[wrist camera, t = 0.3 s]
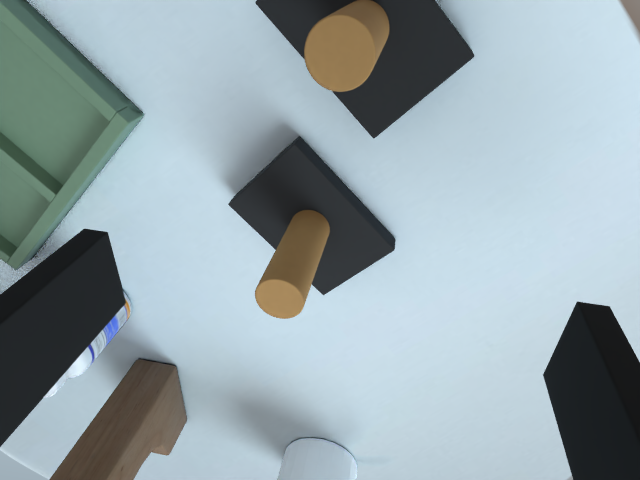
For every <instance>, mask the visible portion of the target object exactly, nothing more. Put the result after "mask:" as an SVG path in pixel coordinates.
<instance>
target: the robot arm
mask: <svg viewBox="0 0 640 480" xmlns="http://www.w3.org/2000/svg"><path fill="white" fill-rule="evenodd" d="M125 304H126V300H125V296H124V292H123V289H122V285H121V281H120V277H119V274H118V270H117V266H116V262H115V258H114V255H113V251H112V247H111V243H110V240H109V236H108V232H103V231H96V230H90V229H83V230H82V231H81V232H80V233H78V234H77V235H76V236H74V237H73V238H72V239H71V240H69V241H68V242H67V243H66V244H64V245H63V246H62V247H60V248H59V249H58V250H57V251H55V252H54V253H53V254H52V255H50V256H49V257H48V258H46V259H45V260H44V261H43V262H41V263H40V264H39V265H37V266H36V267H35V268H34V269H32V270H31V271H30V272H29V273H27V274H26V275H25V276H23V277H22V278H21V279H20V280H18V281H17V282H16V283H15V284H13V285H12V286H11V287H9V288H8V289H7V290H6V291H4V292H3V293H2V294H1V295H0V447H1V445H2V444H3V443H4V442H5V441H6V440H7V439H8V437H9V436H10V435H11V434H12V433H13V432H14V431H15V429H16V428H17V427H18V426H19V425H20V424H21V423H22V421H23V420H24V419H25V418H26V417H27V416H28V415H29V413H30V412H31V411H32V410H33V409H34V408H35V407H36V405H37V404H38V403H39V402H40V401H41V400H42V399H43V397H44V396H45V395H46V394H47V393H48V392H49V391H50V389H51V388H52V387H53V386H54V385H55V384H56V383H57V381H58V380H59V379H60V378H61V377H62V376H63V375H64V373H65V372H66V371H67V370H68V369H69V368H70V367H71V365H72V364H73V363H74V362H75V361H76V360H77V359H78V357H79V356H80V355H81V354H82V353H83V352H84V351H85V349H86V348H87V347H88V346H89V345H90V344H91V342H92V341H93V340H94V339H95V338H96V337H97V336H98V334H99V333H100V332H101V331H102V330H103V329H104V328H105V326H106V325H107V324H108V323H109V322H110V321H111V320H112V318H113V317H114V316H115V315H116V314H117V313H118V312H119V310H120V309H121V308H122V307H123V306H124V305H125ZM543 376H544V379H545V383H546V386H547V390H548V393H549V397H550V400H551V404H552V407H553V411H554V414H555V417H556V421H557V424H558V428H559V431H560V435H561V438H562V442H563V445H564V449H565V452H566V456H567V459H568V463H569V466H570V470H571V473H572V476H573V480H640V362H639V360H638V358H637V357H636V355H635V353H634V351H633V349H632V347H631V345H630V344H629V342H628V340H627V338H626V336H625V334H624V332H623V331H622V329H621V327H620V325H619V323H618V321H617V319H616V318H615V316H614V314H613V312H612V310H611V308H610V306H603V305H596V304H589V303H583V302H577V303H576V305H575V307H574V309H573V312H572V314H571V316H570V318H569V320H568V322H567V325H566V327H565V329H564V331H563V333H562V335H561V338H560V340H559V342H558V344H557V346H556V348H555V350H554V353H553V355H552V357H551V359H550V361H549V363H548V366H547V368H546V370H545V372H544V374H543Z"/></svg>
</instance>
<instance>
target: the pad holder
mask: <svg viewBox="0 0 640 480" xmlns="http://www.w3.org/2000/svg"><path fill="white" fill-rule="evenodd" d="M143 116H144V114H143V113H142V112H141V111H140V110H139V109H138V108H137V107H136V106H135V105H134V104H133V103H132V102H131V101H130V100H129V99H127V98H126V97H125V96H124V95H123V94H122V93H121V92H120V91H119V90H118V89H117V88H116V87H115V86H114V85H113V84H112V83H111V82H110V81H109V80H108V79H107V78H106V77H105V76H104V75H103V74H101V73H100V72H99V71H98V70H97V69H96V68H95V67H94V66H93V65H92V64H91V63H90V62H89V61H88V60H87V59H86V58H85V57H84V56H83V55H82V54H81V53H80V52H79V51H78V50H77V49H75V48H74V47H73V46H72V45H71V44H70V43H69V42H68V41H67V40H66V39H65V38H64V37H63V36H62V35H61V34H60V33H59V32H58V31H57V30H56V29H55V28H54V27H53V26H52V25H51V24H49V23H48V22H47V21H46V20H45V19H44V18H43V17H42V16H41V15H40V14H39V13H38V12H37V11H36V10H35V9H34V8H33V7H32V6H31V5H30V4H29V3H28V2H27V1H26V0H0V259H2V260H3V261H4V262H5V263H7V264H8V265H10V266H11V267H12V268H14V269H15V270H17V269H19V268H20V267H21V266H23V265H24V264H25V263H27V262H28V261H29V260H31V259H32V258H33V257H34V255H35V254H36V253H37V252H38V250H39V249H40V248H41V247H42V245H43V244H44V243H45V241H46V240H47V239H48V238H49V236H50V235H51V234H52V232H53V231H54V230H55V229H56V227H57V226H58V225H59V224H60V222H61V221H62V220H63V218H64V217H65V216H66V215H67V213H68V212H69V211H70V209H71V208H72V207H73V206H74V204H75V203H76V202H77V200H78V199H79V198H80V197H81V195H82V194H83V193H84V192H85V190H86V189H87V188H88V186H89V185H90V184H91V183H92V181H93V180H94V179H95V177H96V176H97V175H98V174H99V172H100V171H101V170H102V168H103V167H104V166H105V165H106V163H107V162H108V161H109V160H110V158H111V157H112V156H113V154H114V153H115V152H116V151H117V149H118V148H119V147H120V145H121V144H122V143H123V142H124V140H125V139H126V138H127V136H128V135H129V134H130V133H131V131H132V130H133V129H134V128H135V126H136V125H137V124H138V122H139V121H140V120H141V119H142V117H143Z"/></svg>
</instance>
